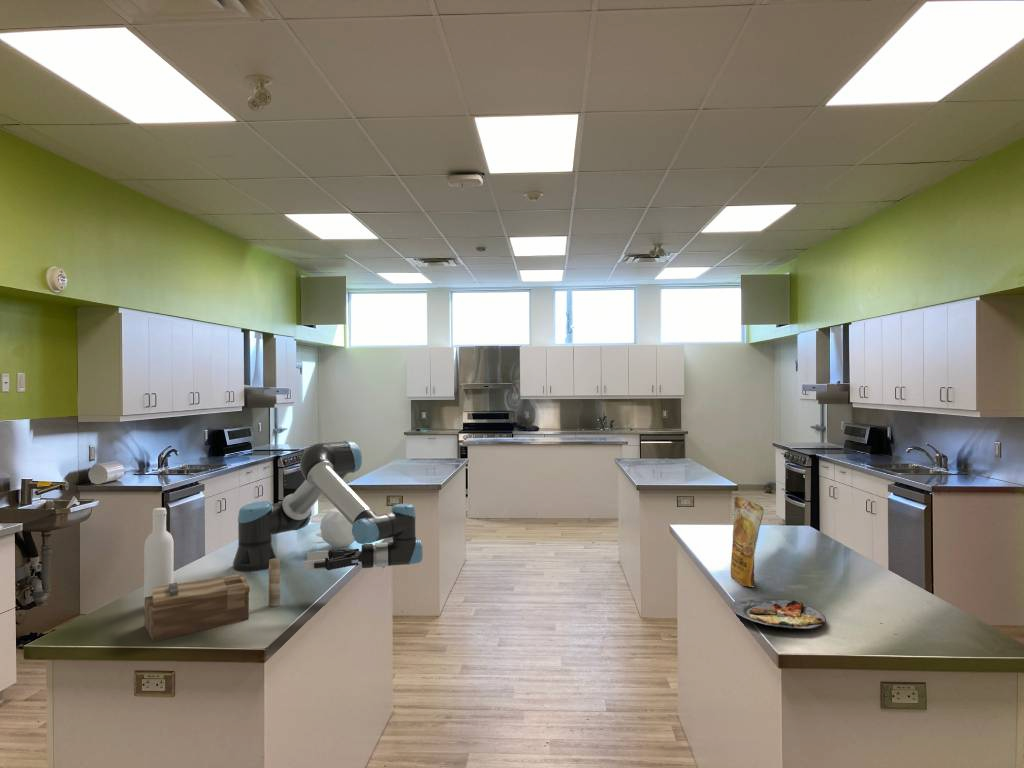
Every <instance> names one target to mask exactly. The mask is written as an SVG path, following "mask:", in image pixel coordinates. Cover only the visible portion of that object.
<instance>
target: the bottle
mask: <svg viewBox="0 0 1024 768" xmlns="http://www.w3.org/2000/svg"><path fill="white" fill-rule="evenodd" d="M167 512H168V511H167V508H166V507H156V508H153V509H152V513H151V516H152V532H151V533H150V534H148V535H147V536H146V539H145V542H144V548H143V549H144V556H143V557H144V558H143V559H144V564H143V565H144V567H143V568H144V569H143V570H144V571H143V572H144V573H143V574H144V575H143V578H144V579H143V585H144V586H143V589H144V590H143V609H144V610H145V597H149V596H153V587H159V586H166V585H169V584H171V583H174V566H175V565H174V562H175V561H174V560H175V557H174V554H175V553H174V552H175V550H174V545H175V544H174V542H175V541H174V538H173V536H172V534H171V533H170V532H169V531H168V530H167V514H168V513H167Z"/></svg>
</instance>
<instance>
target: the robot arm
mask: <svg viewBox="0 0 1024 768" xmlns="http://www.w3.org/2000/svg"><path fill="white" fill-rule="evenodd" d="M362 463H363V455H362V451H361V449H360V447H359V445H358V444H357V443H356V442H354V441H351V440H350V441H348V440H343V441H335V442H334V441H333V442H323V443H322V442H320V443H315V444H312V445H311V446H309V447H308V448H306V450H305V451H304V452H303V453H302V455H301V458H300V462H299V468H300V472H301V474H302V477H303V478H304V480H303V482H302V484H300V486H299V487H298V488H297V489H296V490H294V491H295V492H294V493H289V494H288V495H286V496H285V497H284V498H283V499H282V500H281V501H280V502H276V503H272V502H271V501H268V500H262V501H255V502H251V503H247V504H245V505H243V506H242V507H241V508H240V509H239V511H238V517H237V522H238V525H237V526H238V528H237V530H238V533H237V534H238V536H237V537H238V538H237V539H238V545H237V546H238V547H237V549H236V553H235V556H234V559H233V562H232V568H233V570H235V571H238V572H256V571H262V570H265V569H269V560H270V559H274V558H277V555H276V553H275V550H274V547H273V543H272V538H273V536H272V535H276V534H282V533H287V532H293V531H297V530H301V529H304V528H305V527H306V526H308V525H309V523H310V521H311V519H312V518H311V517H312V507H313V506H314V504H316V502H318V500H319V499H320V498H322V496H323V495H324V496H325V497H326V498H327V500H328V501H329V503H331V504H332V505H333V507H335V508H337V509H338V510H339V511H340V512H341V514H342V515H343V516H344V517H345V518H346V519H347V520H348V521H349V522H350V523H351V524H352V525H353V526H352V535H353V536H354V540H355V541H354V542H356V543H357V544H360V545H361V547H360V548H361V550H360V549H359V548H330V549H329V550H319V551H307V552H306V558H307V559H306V560H302V572H303V571H304V572H305V571H314V570H327V571H332V570H337V569H341V568H347V567H353V566H359V563H361V568H362V569H371V568H373V567H374V566H375V567H376V568H379V567H381V568H382V569H385V568H386V567H391V566H393V567H394V566H406V565H407V566H408V565H409V566H410V565H414V564H420V563H421V562H422V561H423V555H424V553H423V542H422V540H421V539H417V537H416V536H417V535H416V510H415V506H414V505H413V504H412V503H411V504H410V503H397V504H394V505H393V506H392V507H391V512H390V513H385V514H379V515H378V514H376V512H375V511H373V510H372V508H370V506H369V505H367V503H366V502H365V501H364V500H363V499H362V498H361V497H360V496H359V495H358V494H357V493H356V492H355V491H354V490H353V488H352V487H351V486H350V485H349V484H347V483H346V481H345V480H344V478H345V477H346V476H347V475H348V474H350V473H353V474H354V473H356V472H358V471H360V469H361V467H362ZM390 538H392V541H389V542H388V541H386V542H378V541H381V540H385V539H390ZM375 542H376V543H375ZM373 543H374V544H373Z"/></svg>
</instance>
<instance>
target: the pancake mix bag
mask: <svg viewBox="0 0 1024 768" xmlns="http://www.w3.org/2000/svg"><path fill="white" fill-rule="evenodd" d="M763 517H764V508H763V507H762V505H760V504H758V503H755V502H752V501H751V500H748V499H746V498H743V497H739V496H734V497H733V523H732V525H733V527H732V529H733V530H732V547H731V558H730V577H731V578H734V579H735V580H734V579H733V580H734V581H735V582H737V581H738V582H739V583H740V584H739V583H738V582H737V583H738V584H739V585H740V586H742V585H743V586H742V587H744V586H749V587H752V586H754V584H755V553H756V548H757V542H758V538H759V534H760V533H759V532H760V528H761V524H762V521H763ZM749 587H748V588H749Z"/></svg>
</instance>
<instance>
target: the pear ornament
mask: <svg viewBox="0 0 1024 768" xmlns="http://www.w3.org/2000/svg"><path fill="white" fill-rule="evenodd" d="M352 526H353V525H352V524H351V523H350V522H349V521H348V520H347V519H346V518H345V517H344V516H343V515H342V514H341V512H340V511H339V510H338V509H337V508H336V507H335V508H332V509H329V510H328V512H327V513H326V514H325V515H324V516H323V517H322V518H321V520H320V527H319V528H320V531H319V532H317V533H316V534H315V535H316V536H317V537H319V538H322V540H323V541H324V542H325V543H326V544H328V545H329V546H330V547H332V548H345V547H347V546H350V545H351V544H353V543H354V542H356V541H355V540H354V536H353V535H352Z"/></svg>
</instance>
